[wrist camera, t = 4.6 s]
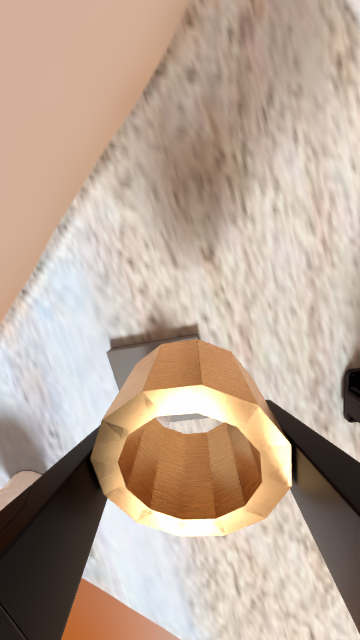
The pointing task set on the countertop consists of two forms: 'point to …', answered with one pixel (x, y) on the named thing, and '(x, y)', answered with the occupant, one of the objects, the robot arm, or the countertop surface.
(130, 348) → the grey peg stand
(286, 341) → the countertop surface
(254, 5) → the countertop surface
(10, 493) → the white cup
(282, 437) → the ring
